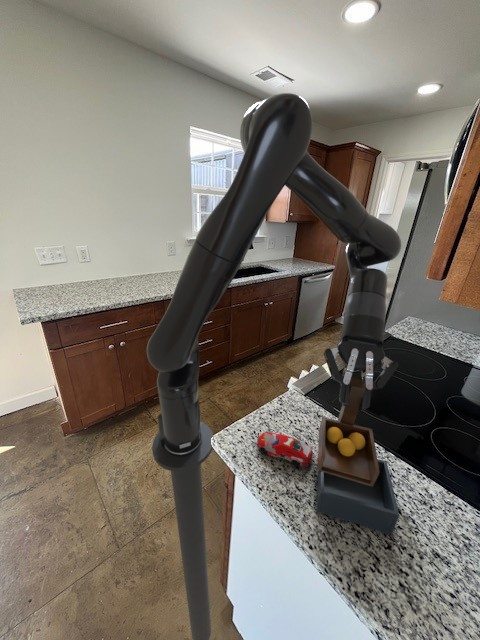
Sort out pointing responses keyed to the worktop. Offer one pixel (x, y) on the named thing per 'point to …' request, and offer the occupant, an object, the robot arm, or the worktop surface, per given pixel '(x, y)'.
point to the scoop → (329, 458)
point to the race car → (285, 448)
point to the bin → (359, 500)
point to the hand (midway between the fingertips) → (353, 407)
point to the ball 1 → (334, 435)
